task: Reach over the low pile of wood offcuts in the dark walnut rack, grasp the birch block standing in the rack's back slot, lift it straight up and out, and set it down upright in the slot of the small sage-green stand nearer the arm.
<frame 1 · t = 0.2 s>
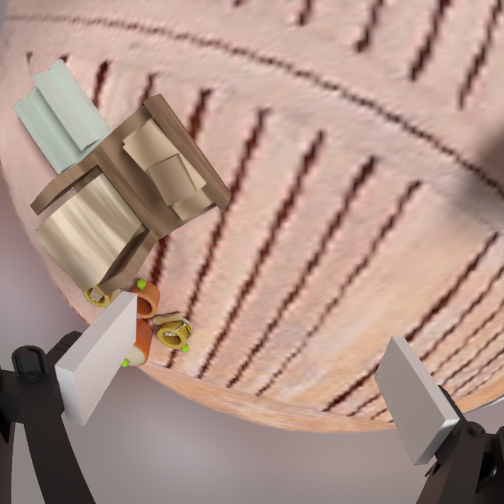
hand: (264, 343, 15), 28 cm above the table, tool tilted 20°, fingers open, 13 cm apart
rack: (147, 178, 41), on the table
toy tea set: (132, 294, 54), on the table
stand: (64, 116, 37), on the table
birch block: (117, 201, 42), point 1 cm above the table, touching rack
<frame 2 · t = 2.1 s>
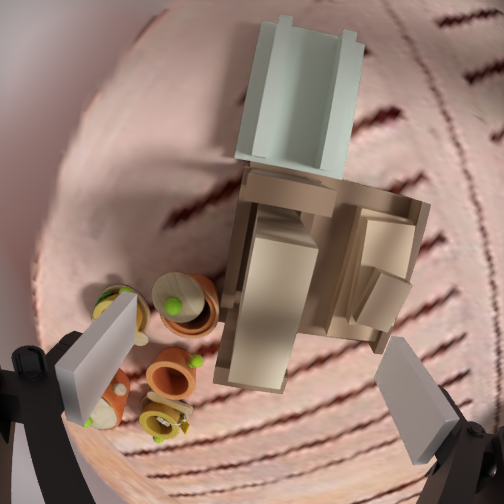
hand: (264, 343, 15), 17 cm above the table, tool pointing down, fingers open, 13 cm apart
rack: (320, 258, 32), on the table
toy tea set: (148, 348, 36), on the table
stand: (301, 97, 28), on the table
birch block: (266, 251, 31), point 1 cm above the table, touching rack
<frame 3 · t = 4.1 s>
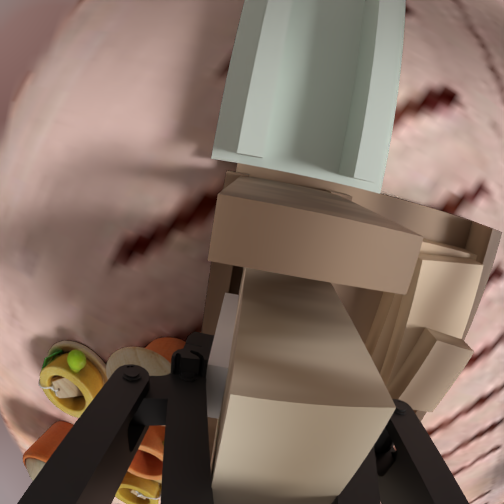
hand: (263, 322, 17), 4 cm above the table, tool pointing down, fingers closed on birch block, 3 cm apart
rack: (342, 308, 21), on the table
toy tea set: (115, 414, 25), on the table
stand: (316, 65, 17), on the table
birch block: (263, 303, 20), point 1 cm above the table, touching gripper, rack
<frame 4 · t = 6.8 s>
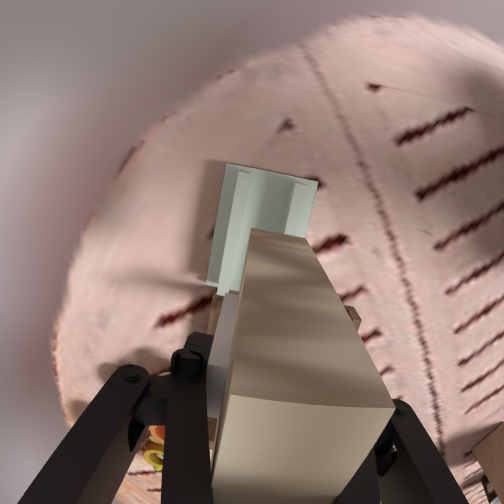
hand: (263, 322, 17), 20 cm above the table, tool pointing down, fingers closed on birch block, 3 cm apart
rack: (274, 350, 41), on the table
wooden block: (491, 440, 49), on the table
toy tea set: (150, 406, 45), on the table
coffee mug: (493, 470, 54), on the table
stand: (259, 232, 37), on the table
birch block: (263, 303, 20), point 18 cm above the table, touching gripper
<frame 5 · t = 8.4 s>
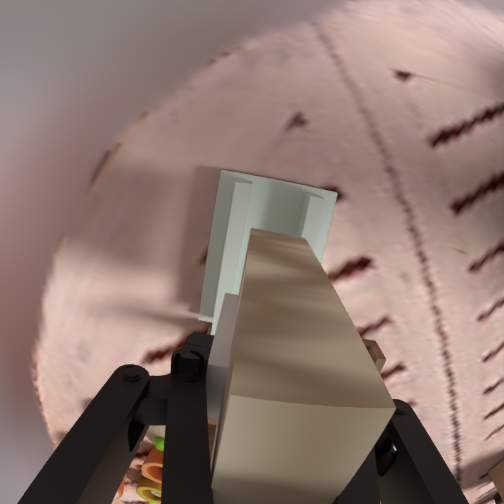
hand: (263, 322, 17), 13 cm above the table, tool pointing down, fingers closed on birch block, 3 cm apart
rack: (281, 390, 34), on the table
toy tea set: (142, 443, 38), on the table
stand: (264, 256, 30), on the table
birch block: (263, 303, 20), point 10 cm above the table, touching gripper
when the fingers open (6 cm above the table, at t = 9.9 s): birch block drops 2 cm, resting on stand.
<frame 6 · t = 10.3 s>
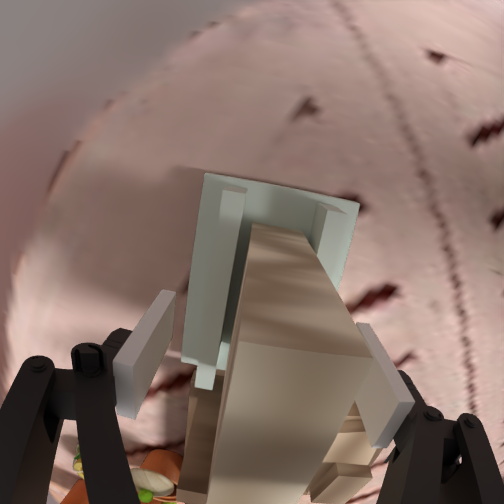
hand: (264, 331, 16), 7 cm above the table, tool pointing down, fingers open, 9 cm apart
rack: (283, 435, 27), on the table
toy tea set: (127, 480, 32), on the table
stand: (262, 285, 23), on the table
birch block: (263, 291, 22), point 1 cm above the table, touching stand
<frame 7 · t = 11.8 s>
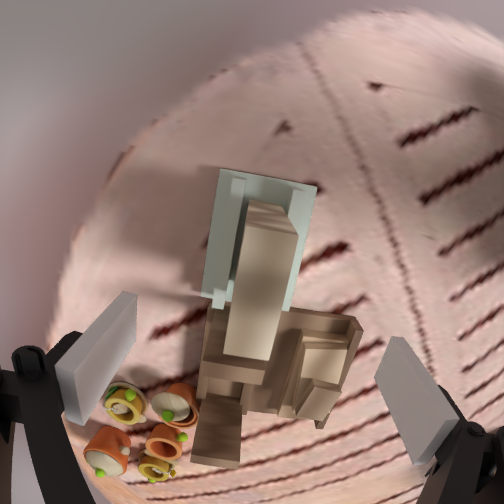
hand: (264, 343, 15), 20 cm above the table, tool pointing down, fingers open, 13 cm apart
rack: (273, 362, 39), on the table
toy tea set: (146, 421, 44), on the table
stand: (256, 241, 35), on the table
birch block: (256, 244, 34), point 1 cm above the table, touching stand
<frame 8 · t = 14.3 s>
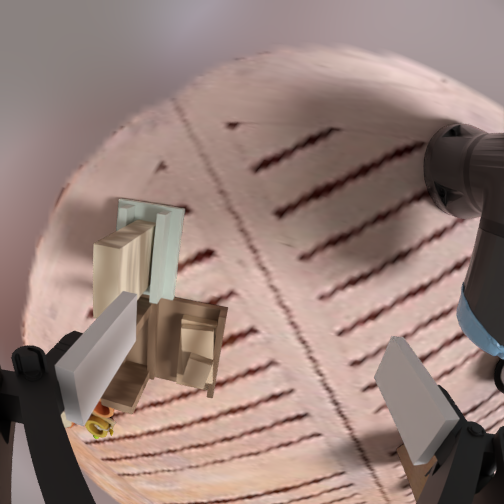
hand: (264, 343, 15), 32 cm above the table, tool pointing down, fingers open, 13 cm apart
rack: (170, 339, 52), on the table
wooden block: (420, 442, 59), on the table
toy tea set: (91, 385, 56), on the table
stand: (147, 248, 47), on the table
birch block: (145, 250, 46), point 1 cm above the table, touching stand
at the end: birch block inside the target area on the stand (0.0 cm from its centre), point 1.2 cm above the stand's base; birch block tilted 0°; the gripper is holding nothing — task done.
